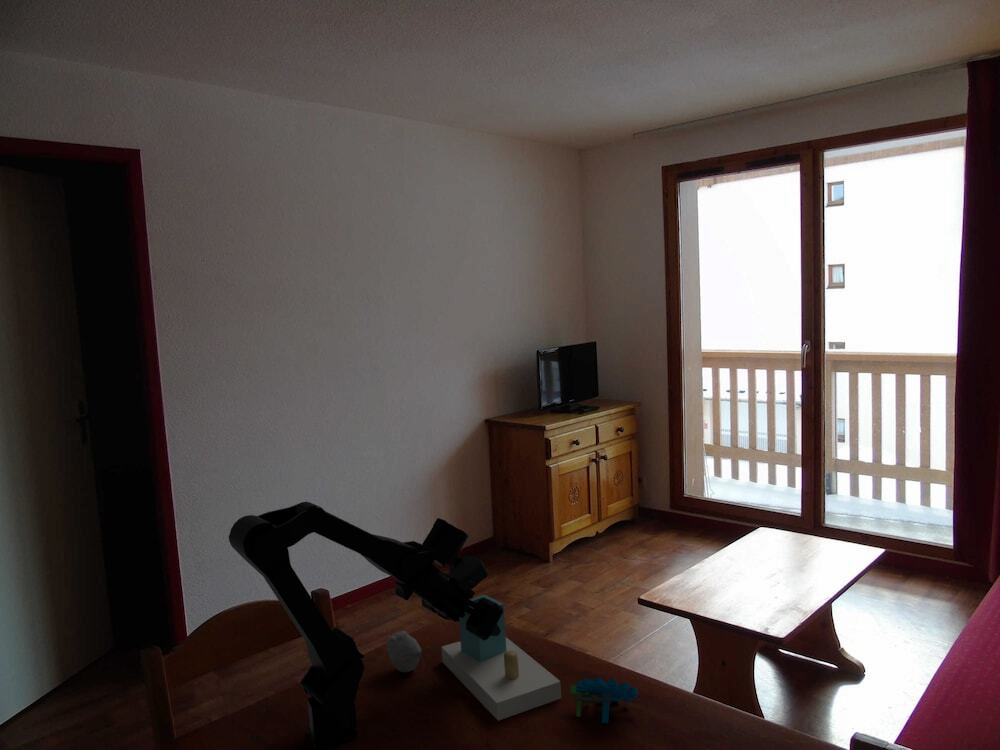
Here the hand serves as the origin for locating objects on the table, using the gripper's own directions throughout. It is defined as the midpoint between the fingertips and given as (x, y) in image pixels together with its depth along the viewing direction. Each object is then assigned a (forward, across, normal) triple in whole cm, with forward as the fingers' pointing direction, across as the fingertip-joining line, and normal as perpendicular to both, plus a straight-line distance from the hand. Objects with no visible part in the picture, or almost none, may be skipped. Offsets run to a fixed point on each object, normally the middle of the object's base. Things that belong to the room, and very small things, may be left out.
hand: (488, 627), depth 133 cm
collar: (+2, 0, +4) cm, 4 cm away
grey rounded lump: (-4, +9, +14) cm, 17 cm away
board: (+3, -5, +7) cm, 9 cm away
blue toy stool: (+8, -26, +3) cm, 27 cm away
